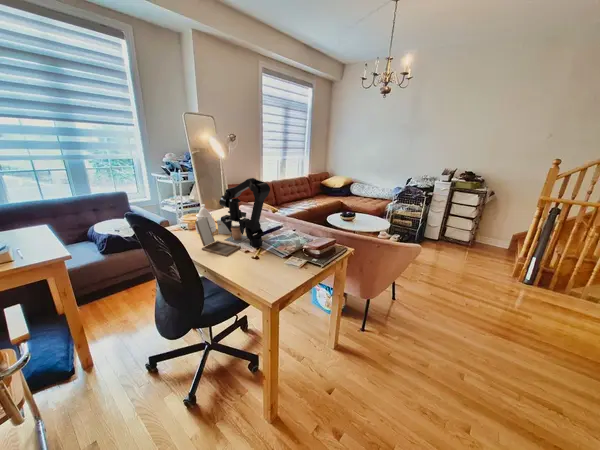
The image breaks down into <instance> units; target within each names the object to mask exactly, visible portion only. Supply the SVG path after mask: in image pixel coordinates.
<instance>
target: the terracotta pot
mask: <svg viewBox="0 0 600 450" xmlns="http://www.w3.org/2000/svg"><path fill="white" fill-rule="evenodd" d="M239 225H240V224H239ZM239 225H232V227H231V230H232V234H231V236H232V239H233V240H240V239H241V238H242V236H241V235H242V234H241V231H240V228H239Z"/></svg>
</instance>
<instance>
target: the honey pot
mask: <svg viewBox="0 0 600 450" xmlns="http://www.w3.org/2000/svg"><path fill="white" fill-rule="evenodd" d="M200 207H201V208H200V209H199V211H198V213H196V215H195V217H196V221H198V220H201V219H202V217H204V218H206V217H207V219H208V222H209V225H210V228H211V231H212V234H213V233H215V232H216V231H217V223H216V221H215V219H214V217H213V216H212V215H213V214H212V213H211V212H210V211H209V209H207V208H206V204H204V203H203V204H202V203H201V204H200ZM195 232H196V234H198V235H199V232H198V229H197V226H196V224H195Z"/></svg>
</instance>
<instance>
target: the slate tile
mask: <svg viewBox="0 0 600 450" xmlns="http://www.w3.org/2000/svg"><path fill="white" fill-rule="evenodd" d="M241 236H242V238H241V239H240V240H233V239H232V235H231V236H229V237H227V238H225V239H224V242H225V241H226V242H230V243H234V244H240V243H241V242H243V241H245V240H248V238H247V235H244V234H243V235H242V234H241Z"/></svg>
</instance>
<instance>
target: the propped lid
mask: <svg viewBox="0 0 600 450" xmlns="http://www.w3.org/2000/svg"><path fill="white" fill-rule="evenodd" d="M194 222H195V225H196V226H197V229H198V232H199V234H198V235H199V237H200V240H201V244H202V247H205V246H207V245H209V244H211V243H213V242H216V241H215V238H214V235H213V233H212V231H211V228H210V225H209V222H208V219H207V217H206V218H203V219H201V220H198V221H194ZM196 226H195V227H196Z"/></svg>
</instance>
